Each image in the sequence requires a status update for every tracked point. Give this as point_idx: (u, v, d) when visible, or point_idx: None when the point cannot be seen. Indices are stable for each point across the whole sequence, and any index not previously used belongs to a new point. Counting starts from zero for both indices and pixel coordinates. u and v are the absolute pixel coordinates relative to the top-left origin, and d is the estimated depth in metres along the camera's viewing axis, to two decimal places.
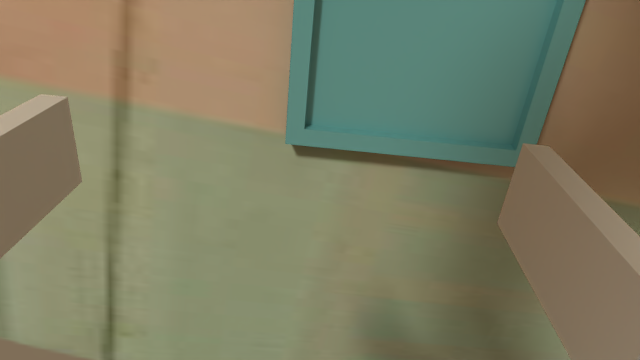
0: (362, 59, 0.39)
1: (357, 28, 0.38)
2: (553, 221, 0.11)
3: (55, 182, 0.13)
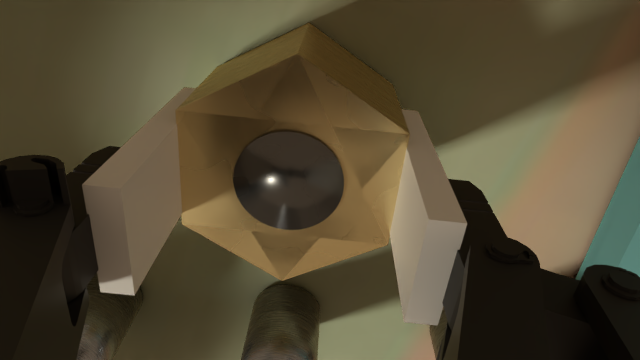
0: None
1: None
2: None
3: None
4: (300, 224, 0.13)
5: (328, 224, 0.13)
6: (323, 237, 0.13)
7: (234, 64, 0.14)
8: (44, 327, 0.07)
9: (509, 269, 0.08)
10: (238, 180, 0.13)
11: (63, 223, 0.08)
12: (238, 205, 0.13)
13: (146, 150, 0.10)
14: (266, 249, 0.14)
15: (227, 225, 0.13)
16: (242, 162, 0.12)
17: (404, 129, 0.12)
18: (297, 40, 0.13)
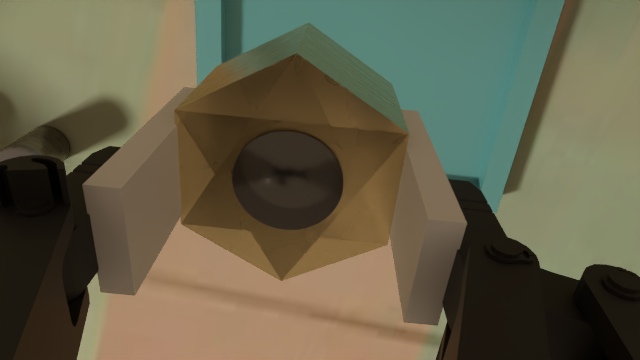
0: None
1: None
2: None
3: None
4: (300, 224, 0.13)
5: (327, 224, 0.13)
6: (322, 236, 0.13)
7: (233, 64, 0.14)
8: (44, 327, 0.07)
9: (509, 269, 0.08)
10: (237, 180, 0.13)
11: (63, 223, 0.08)
12: (237, 205, 0.13)
13: (146, 150, 0.10)
14: (265, 249, 0.14)
15: (226, 225, 0.13)
16: (241, 162, 0.12)
17: (403, 129, 0.12)
18: (296, 39, 0.13)
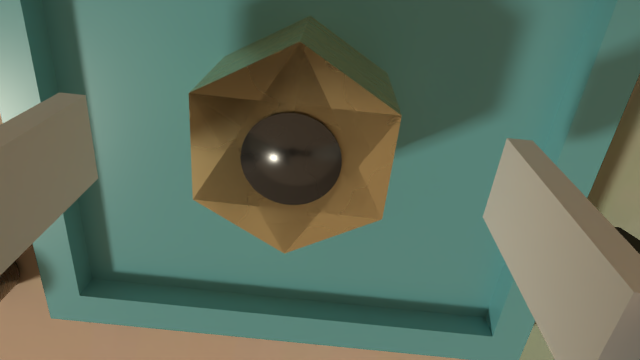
0: (366, 228, 0.20)
1: None
2: (533, 213, 0.11)
3: (73, 178, 0.13)
4: (302, 200, 0.14)
5: (327, 200, 0.14)
6: (322, 211, 0.14)
7: (241, 53, 0.15)
8: None
9: None
10: (245, 159, 0.14)
11: None
12: (245, 182, 0.14)
13: None
14: (270, 223, 0.15)
15: (234, 201, 0.14)
16: (249, 142, 0.13)
17: (396, 111, 0.13)
18: (299, 30, 0.14)
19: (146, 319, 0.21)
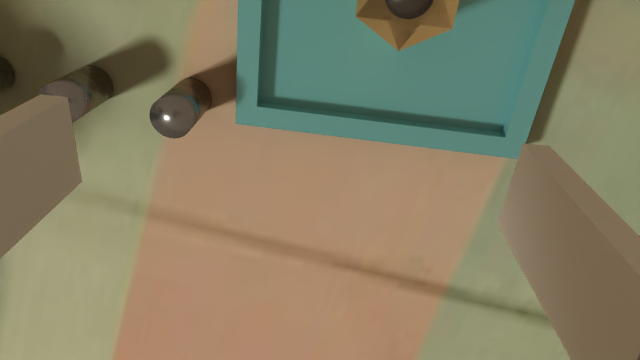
0: (432, 65, 0.34)
1: (397, 72, 0.34)
2: (553, 221, 0.11)
3: (55, 182, 0.13)
4: (412, 17, 0.28)
5: (425, 16, 0.28)
6: (421, 24, 0.28)
7: None
8: None
9: None
10: None
11: None
12: (384, 5, 0.28)
13: None
14: (393, 31, 0.29)
15: (377, 17, 0.28)
16: None
17: None
18: None
19: (294, 124, 0.35)
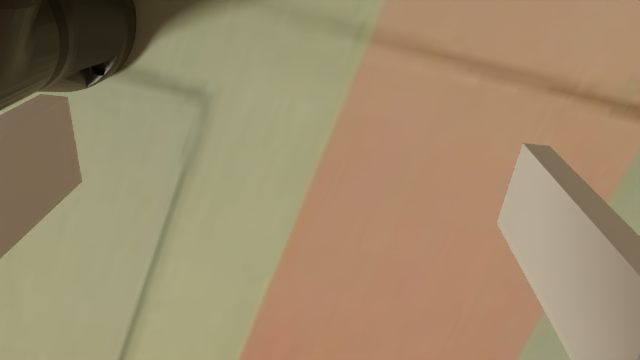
0: None
1: None
2: (553, 220, 0.11)
3: (55, 182, 0.13)
4: None
5: None
6: None
7: None
8: None
9: None
10: None
11: None
12: None
13: None
14: None
15: None
16: None
17: None
18: None
19: None
